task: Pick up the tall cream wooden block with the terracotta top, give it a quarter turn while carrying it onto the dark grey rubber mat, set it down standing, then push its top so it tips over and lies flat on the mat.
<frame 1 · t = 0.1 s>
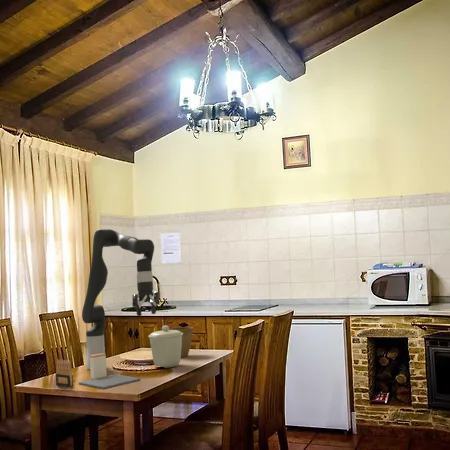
hand: (146, 314, 263), 29 cm above the table, tool pointing down, fingers open, 8 cm apart
cream block: (98, 377, 267), on the table
ammunition clip: (64, 386, 252), on the table
plant pot: (181, 356, 314), on the table
rubber mat: (109, 382, 254), on the table
canister: (167, 366, 285), on the table
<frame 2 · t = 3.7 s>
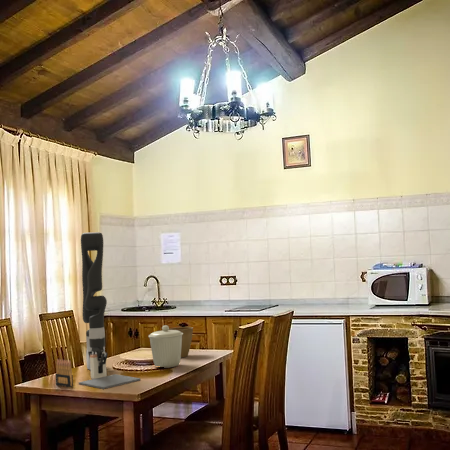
hand: (98, 372, 267), 2 cm above the table, tool pointing down, fingers closed on cream block, 3 cm apart
cream block: (98, 377, 267), on the table, touching gripper
everything else where it was.
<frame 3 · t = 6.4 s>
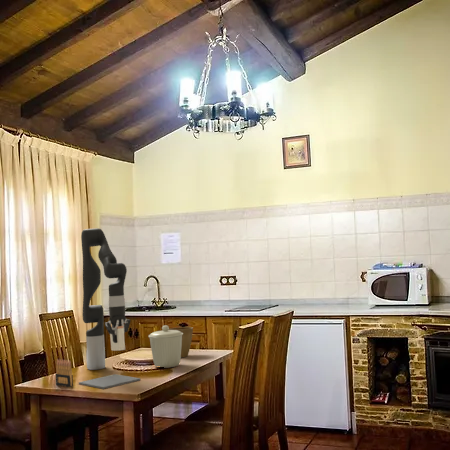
hand: (118, 342, 259), 17 cm above the table, tool pointing down, fingers closed on cream block, 3 cm apart
cream block: (118, 349, 259), point 14 cm above the table, touching gripper
everything else where it was.
when the fingers open (5 cm above the table, at t = 9.2 s): cream block moves 3 cm and tips over, resting on rubber mat.
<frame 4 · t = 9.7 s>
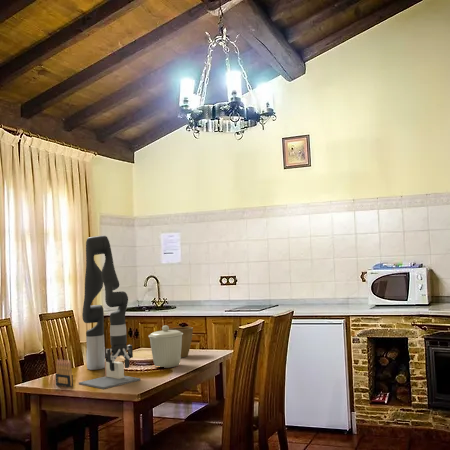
hand: (119, 369, 258), 5 cm above the table, tool pointing down, fingers open, 7 cm apart
cream block: (121, 370, 257), point 4 cm above the table, tilted 90°, touching rubber mat
everything else where it was.
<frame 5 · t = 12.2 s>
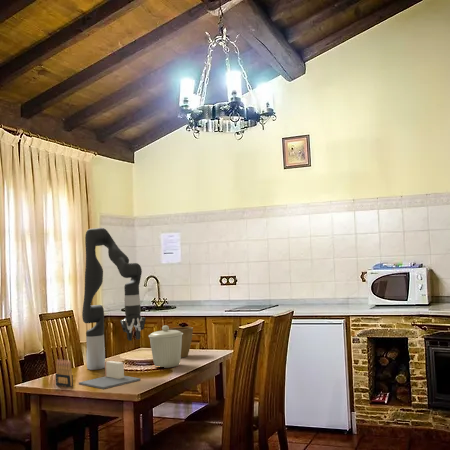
hand: (134, 339, 266), 17 cm above the table, tool pointing down, fingers open, 4 cm apart
nothing on the table moved.
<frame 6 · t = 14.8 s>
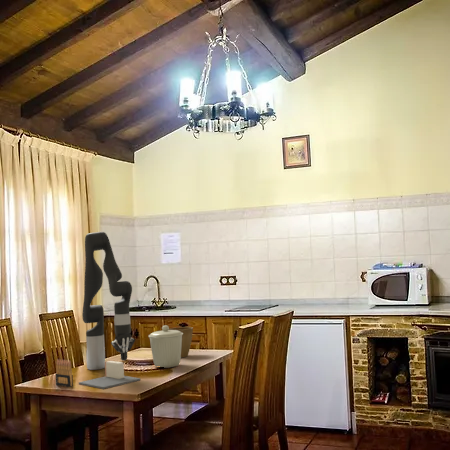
hand: (124, 360, 260), 9 cm above the table, tool pointing down, fingers closed
nothing on the table moved.
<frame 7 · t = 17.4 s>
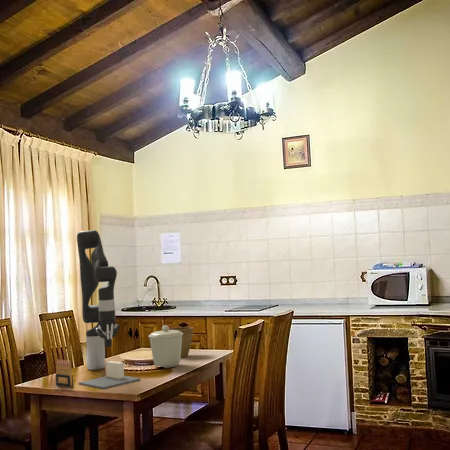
hand: (108, 347, 255), 16 cm above the table, tool pointing down, fingers closed
nothing on the table moved.
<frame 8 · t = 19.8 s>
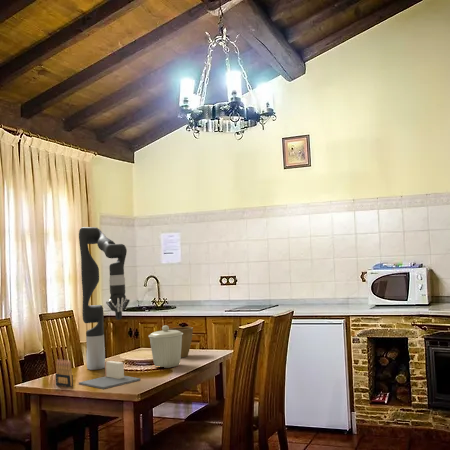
hand: (118, 319, 271), 27 cm above the table, tool pointing down, fingers closed
nothing on the table moved.
at the end: cream block tilted 90°; cream block inside the target area on the rubber mat (5.9 cm from its centre), point 4.3 cm above the rubber mat's base; the gripper is holding nothing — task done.
